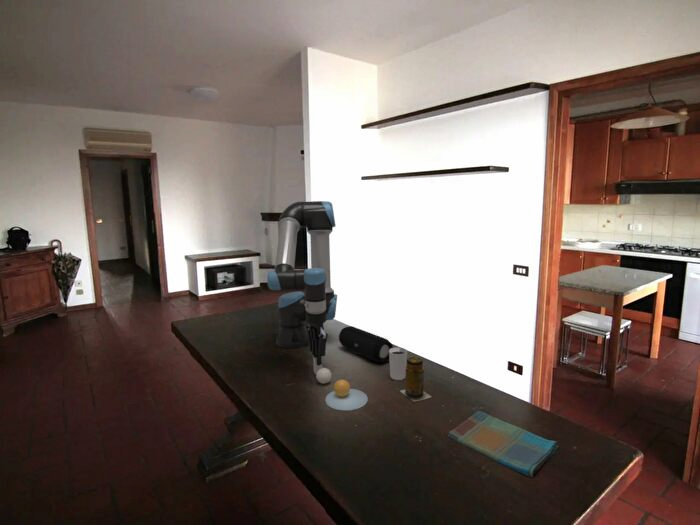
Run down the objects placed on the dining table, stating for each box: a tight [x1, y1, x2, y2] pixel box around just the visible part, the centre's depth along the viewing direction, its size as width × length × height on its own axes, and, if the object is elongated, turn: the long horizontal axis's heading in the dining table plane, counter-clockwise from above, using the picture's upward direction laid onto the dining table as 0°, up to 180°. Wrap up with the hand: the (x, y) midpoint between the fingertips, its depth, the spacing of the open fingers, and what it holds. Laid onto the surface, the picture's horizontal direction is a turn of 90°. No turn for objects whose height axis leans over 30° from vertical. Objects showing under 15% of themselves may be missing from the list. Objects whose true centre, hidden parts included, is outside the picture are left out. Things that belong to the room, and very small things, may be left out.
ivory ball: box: [315, 367, 332, 385], centre depth 141 cm, size 6×6×6 cm
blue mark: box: [325, 388, 369, 412], centre depth 130 cm, size 14×14×1 cm
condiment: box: [399, 356, 432, 403], centre depth 131 cm, size 7×8×12 cm
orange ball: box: [333, 379, 351, 397], centre depth 132 cm, size 6×6×6 cm
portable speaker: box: [338, 326, 394, 363], centre depth 166 cm, size 26×10×10 cm, turn 40°
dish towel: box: [447, 410, 560, 478], centre depth 106 cm, size 17×23×2 cm
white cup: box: [388, 346, 408, 381], centre depth 145 cm, size 7×7×10 cm
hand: (317, 372), depth 146 cm, fingers closed
